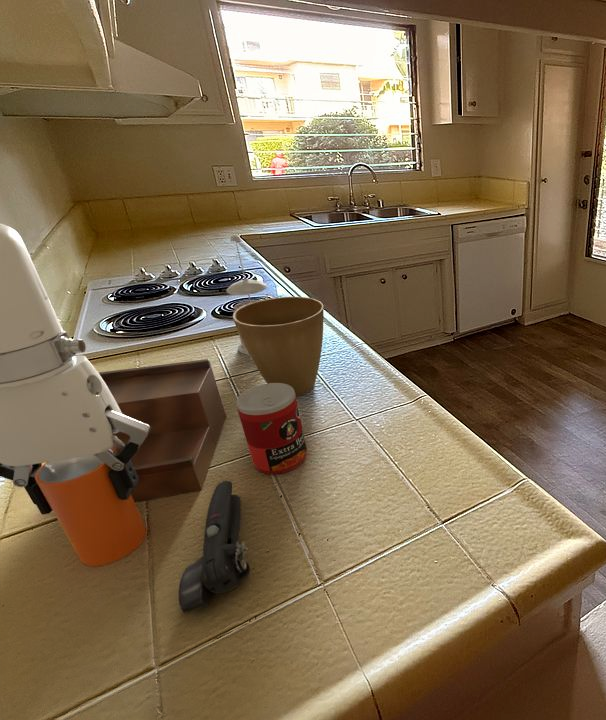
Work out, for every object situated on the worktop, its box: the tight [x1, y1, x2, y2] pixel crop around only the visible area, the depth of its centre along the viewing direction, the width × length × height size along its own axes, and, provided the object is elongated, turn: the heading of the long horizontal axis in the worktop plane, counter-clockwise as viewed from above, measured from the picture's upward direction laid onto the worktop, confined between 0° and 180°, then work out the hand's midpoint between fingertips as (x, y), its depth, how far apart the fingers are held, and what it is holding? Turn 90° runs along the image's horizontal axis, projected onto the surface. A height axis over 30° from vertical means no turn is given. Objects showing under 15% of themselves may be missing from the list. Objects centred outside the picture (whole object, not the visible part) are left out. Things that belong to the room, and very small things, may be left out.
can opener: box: [178, 480, 251, 613], centre depth 53 cm, size 18×7×6 cm, turn 20°
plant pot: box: [232, 296, 324, 397], centre depth 85 cm, size 15×15×16 cm
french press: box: [225, 234, 276, 355], centre depth 101 cm, size 10×12×25 cm
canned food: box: [235, 383, 308, 475], centre depth 67 cm, size 8×8×11 cm
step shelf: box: [97, 358, 227, 503], centre depth 67 cm, size 16×19×11 cm
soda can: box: [35, 449, 148, 567], centre depth 53 cm, size 7×7×12 cm
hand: (91, 497), depth 52 cm, fingers closed on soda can, 6 cm apart
